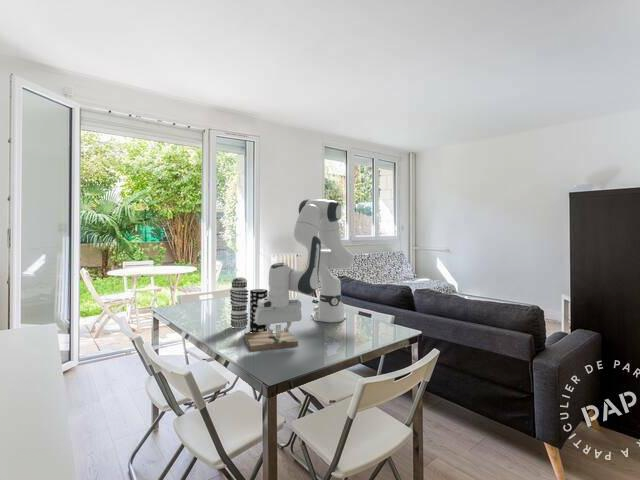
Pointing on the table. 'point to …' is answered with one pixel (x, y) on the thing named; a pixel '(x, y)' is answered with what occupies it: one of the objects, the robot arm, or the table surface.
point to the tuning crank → (277, 332)
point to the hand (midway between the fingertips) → (278, 333)
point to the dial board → (269, 340)
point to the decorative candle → (239, 303)
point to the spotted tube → (254, 297)
